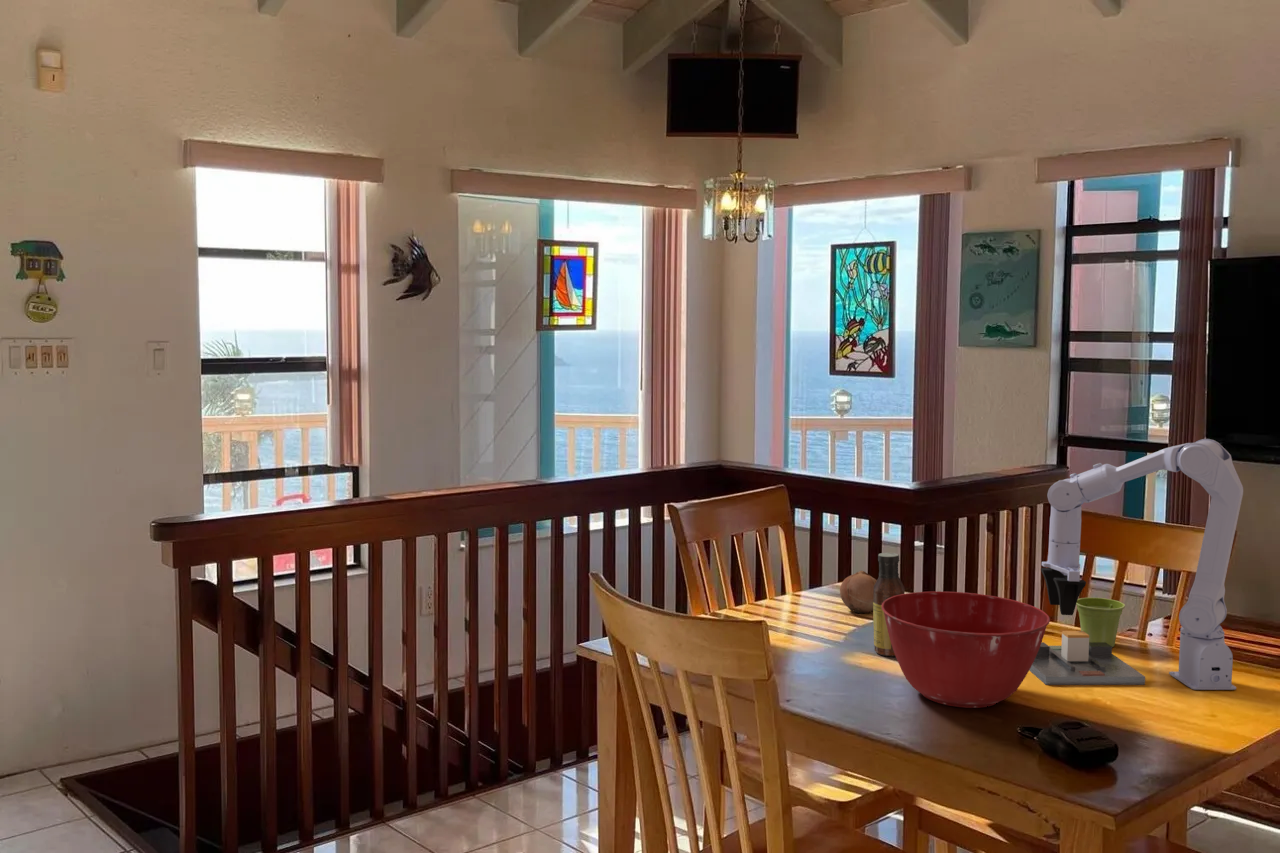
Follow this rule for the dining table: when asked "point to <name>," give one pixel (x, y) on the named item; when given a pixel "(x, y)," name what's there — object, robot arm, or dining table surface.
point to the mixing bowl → (964, 644)
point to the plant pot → (1100, 618)
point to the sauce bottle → (883, 590)
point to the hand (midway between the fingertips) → (1061, 609)
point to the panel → (1084, 667)
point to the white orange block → (1075, 645)
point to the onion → (858, 592)
